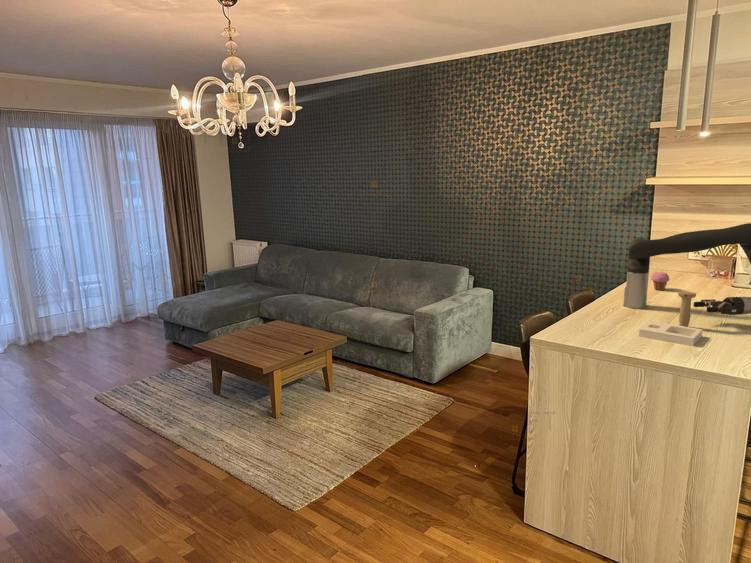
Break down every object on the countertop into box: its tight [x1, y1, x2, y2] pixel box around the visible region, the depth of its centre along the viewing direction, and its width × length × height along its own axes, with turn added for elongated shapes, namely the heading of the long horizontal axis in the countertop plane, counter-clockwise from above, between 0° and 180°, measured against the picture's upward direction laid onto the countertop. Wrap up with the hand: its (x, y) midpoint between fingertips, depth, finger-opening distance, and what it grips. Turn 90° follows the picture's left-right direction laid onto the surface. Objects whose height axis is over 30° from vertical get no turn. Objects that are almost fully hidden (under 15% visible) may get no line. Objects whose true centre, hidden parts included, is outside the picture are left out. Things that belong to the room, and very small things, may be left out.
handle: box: [677, 290, 697, 327], centre depth 210 cm, size 5×6×15 cm
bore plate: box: [638, 320, 703, 347], centre depth 201 cm, size 19×14×3 cm
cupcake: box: [650, 271, 670, 291], centre depth 274 cm, size 9×9×10 cm
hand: (700, 307), depth 210 cm, fingers open, 8 cm apart
